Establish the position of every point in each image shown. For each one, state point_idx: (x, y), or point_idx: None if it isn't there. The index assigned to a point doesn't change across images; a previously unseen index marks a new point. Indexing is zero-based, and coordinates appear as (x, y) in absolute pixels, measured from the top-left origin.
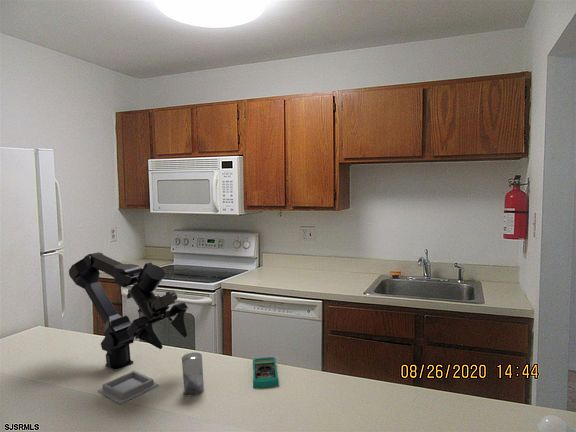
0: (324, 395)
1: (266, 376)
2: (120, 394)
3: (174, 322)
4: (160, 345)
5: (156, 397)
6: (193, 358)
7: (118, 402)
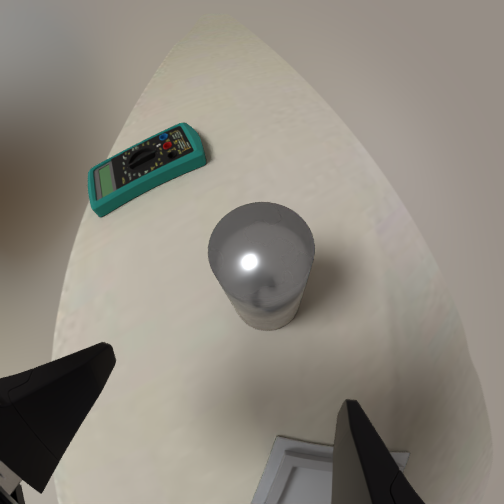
0: (209, 80)
1: (178, 139)
2: (402, 471)
3: (31, 464)
4: (362, 409)
5: (345, 389)
6: (275, 227)
7: (405, 462)
